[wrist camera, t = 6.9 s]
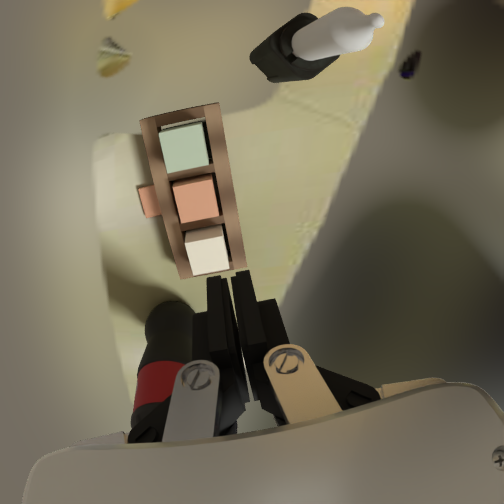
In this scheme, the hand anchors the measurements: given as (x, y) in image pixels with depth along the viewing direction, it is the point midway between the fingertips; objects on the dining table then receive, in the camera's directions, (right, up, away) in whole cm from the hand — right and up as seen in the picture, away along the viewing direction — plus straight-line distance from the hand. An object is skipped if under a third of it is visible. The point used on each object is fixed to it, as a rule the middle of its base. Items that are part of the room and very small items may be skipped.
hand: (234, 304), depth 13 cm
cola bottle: (-11, -8, +36) cm, 39 cm away
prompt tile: (-12, +9, +27) cm, 31 cm away
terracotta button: (-6, +10, +27) cm, 29 cm away
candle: (+3, +25, +21) cm, 33 cm away
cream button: (-5, +3, +29) cm, 30 cm away
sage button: (-7, +15, +23) cm, 28 cm away
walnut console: (-6, +10, +27) cm, 30 cm away
